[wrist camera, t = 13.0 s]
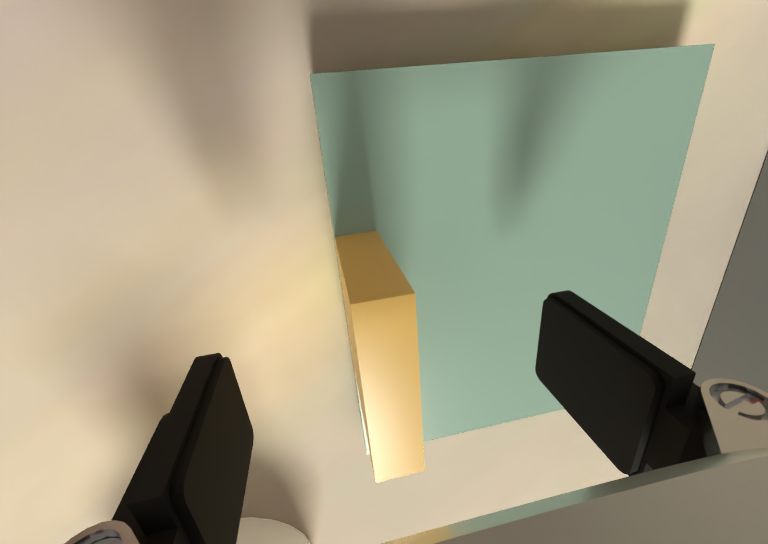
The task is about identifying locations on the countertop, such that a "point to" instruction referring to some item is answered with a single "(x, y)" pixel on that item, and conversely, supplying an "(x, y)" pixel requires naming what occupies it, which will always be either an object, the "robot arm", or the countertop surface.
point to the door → (493, 222)
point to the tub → (741, 305)
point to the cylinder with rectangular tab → (268, 532)
